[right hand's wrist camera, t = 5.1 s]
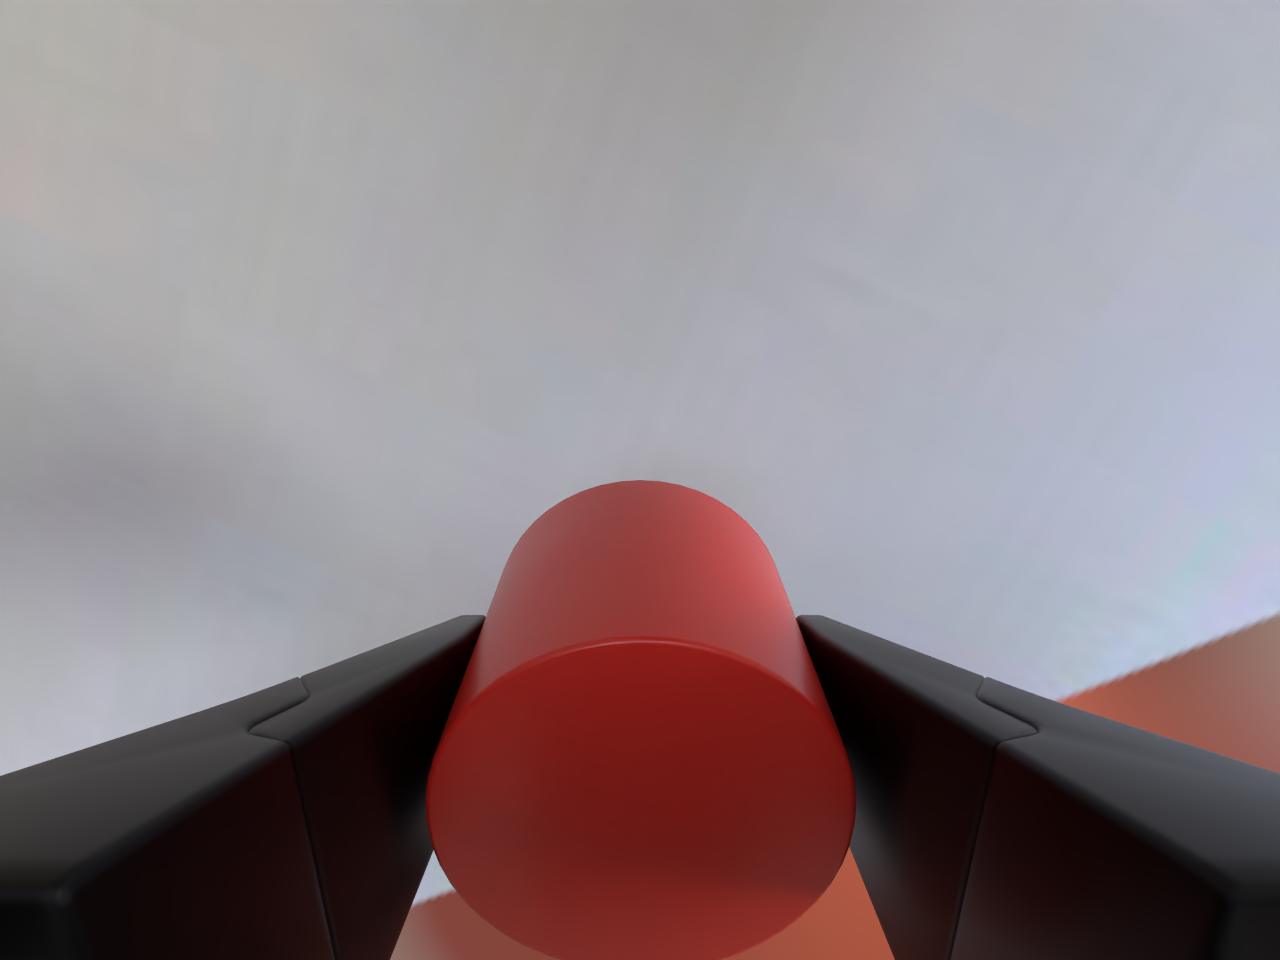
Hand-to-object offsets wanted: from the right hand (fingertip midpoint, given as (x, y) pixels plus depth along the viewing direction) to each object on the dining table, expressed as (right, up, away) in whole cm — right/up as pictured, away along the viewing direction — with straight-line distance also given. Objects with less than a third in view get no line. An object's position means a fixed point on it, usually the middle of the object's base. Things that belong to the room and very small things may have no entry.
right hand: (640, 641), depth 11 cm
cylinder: (0, 0, +1) cm, 1 cm away
